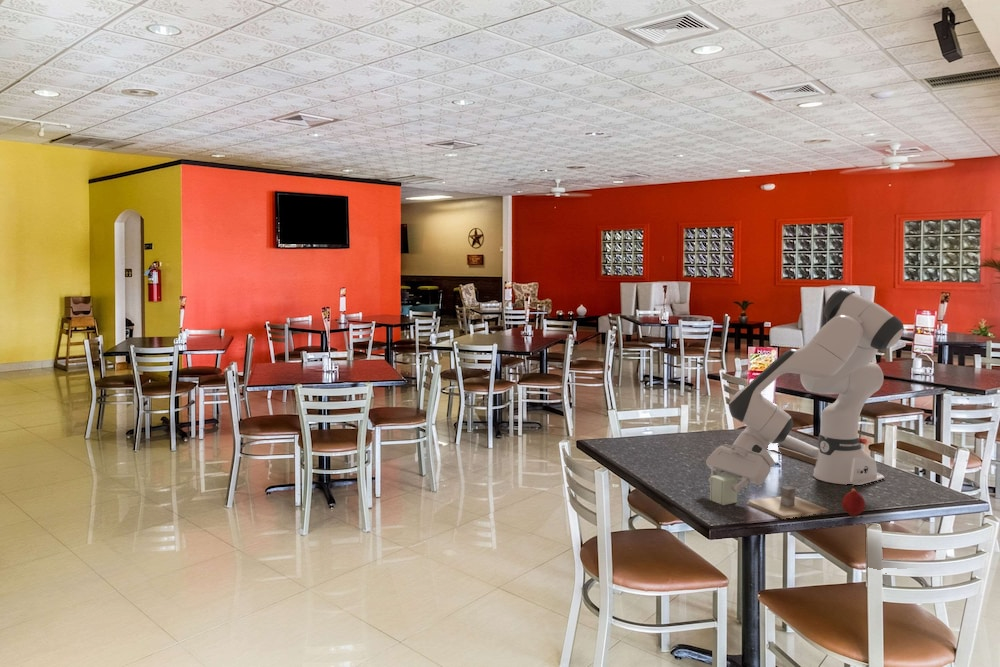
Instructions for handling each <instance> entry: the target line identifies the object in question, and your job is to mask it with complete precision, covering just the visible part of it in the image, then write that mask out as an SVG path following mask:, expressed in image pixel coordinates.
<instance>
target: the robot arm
mask: <svg viewBox="0 0 1000 667" xmlns="http://www.w3.org/2000/svg"><path fill="white" fill-rule="evenodd" d="M824 304H825V305H824V307H823V314H824V317H825V318H826V319H825V322H826V323H825V324H823V326H821V328H820V329H819V330H818V331H817V333H815V335H814V336H813V337H812V338H811V340H809V342H807V344H806V345H803V346H802V347H799V348H797V349H795V348H790V349H788V350H786V351H785V352H783V353H782V354H780V356H778V357H777V358H776V359H775V360H773V361H772V362H771V363H770V364H769V365H767V367H766V368H765V369H764V370H763V371H761V372H760V373H759V374H758V375H757V376H756V377H755V378H754V379H753V380H751V382H749V383H748V384H747V385H746V386H744V387H743V388H741V389H740V390H738V391H737V392H736V393H735V394H734V395H733V396H732V397H731V399H730V400H729V403H728V409H729V413H730V416H731V417H732V418H734V419H736V420H737V421H738V422H741V423H743V424H744V425H746V427H745V428H744V429H743V430H742V432H740V434H739V435H738V437H737V438H736V439H735V440H734V442H733V443H732V445H731V444H730V445H729V444H727V443H724V444H721V445H719V446H717V447H716V448H715V449H714V450H713V451H712V452H711V454H710V455H709V456H708V457H707V458H706V461H705V463H706V466H707V467H708V468H709V469H710V476H709V478H708V482H709V483H710V477H711V476H715V475H720V474H726V475H729V476H732V477H735V478H738V480H740V481H739V482H737V484H734V485H733V487H732V490H733V491H735V492H737V494H738V493H739V492H740V491H741V490H742V489H744V488H745V487H747V486H749V484H753V485H756V486H760V485H762V484H763V483H765V480H766V479H767V478H768V476H769V474H770V472H771V468H772V467H774V465H775V463H776V461H774V458H773V457H772V456H771V455H770V453H769V452H768V451H767V450H768V449H767V448H768V445H769V444H773V445H774V444H776V443H781V442H783V441H784V440H785V438H786V437H787V435H789V434H790V432H791V430H793V428H794V420H793V416H791V415H790V414H789V413H787V412H786V411H785V410H784V409H783V407H781V406H780V405H778V404H777V403H773V402H771V401H770V400H769V399H767V398H766V397H764V396H763V394H762V392H763V391H764V390H765V389H767V388H768V386H770V385H771V384H772V383H773V382H774V381H775V380H777V379H778V378H779V377H780V376H781V375H784V374H796V375H799V377H800V383H801V385H802V387H803V388H804V389H805V391H807V392H810V393H813V394H814V393H815V394H819V395H838V396H837V398H836V400H835V401H834V402H832V403H831V404H829V405H827V406H825V407H824V409H823V410H822V412H821V413H820V415H821V416H820V432H819V434H818V442H817V445H818V448H819V449H818V454H817V460H816V464H815V467H814V468H813V474H812V476H813V477H814V478H815V479H817V480H820V481H822V482H825V483H831V484H836V485H837V484H838V485H847V484H854V485H860V484H864V483H868V482H871V481H875V480H879V479H882V478H885V476H884V475H883V474H881V473H879V472H878V471H877V470H878V469H877V462H876V460H875V459H874V458H873V457H872V456H871V455H870V454H868V452H866V451H865V450H864V449H862V445H867V443H868V442H869V441H868V439H867V438H865V437H862V436H861V437H858V433H859V421H860V415H861V412H862V409H863V408H864V406H865V404H866V403H867V401H868V400H869V398H870V397H871V396H872V395H874V394H875V393H876V392H878V391H879V390H880V389H881V387H882V386H883V384H884V381H885V380H884V372H883V370H882V367H880V365H879V364H878V363H876V362H874V361H873V360H874V358H875V357H876V355H877V353H878V351H887V350H889V349H890V348H893V346H895V345H896V344H897V343H898V342H899V341H900V340H901V337H902V335H903V333H904V331H905V330H904V329H905V328H904V327H905V326H904V322H902V321H901V319H900V318H899V317H898V316H896V315H893V314H892V313H890V312H889V311H888V310H887V309H886V308H884V307H883V306H881V305H880V304H877V303H876V302H873V301H872V300H871V299H868V298H867V297H864V296H862V295H859V294H857V293H856V292H855V291H854V290H851V289H848V288H846V287H843V288H840V289H837V290H836V291H835V292H833V293H832V294H831V295H830V296H829V297H828V299H826V302H825V303H824ZM872 361H873V362H872ZM854 485H853V486H854Z"/></svg>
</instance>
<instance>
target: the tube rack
mask: <svg viewBox="0 0 1000 667" xmlns="http://www.w3.org/2000/svg"><path fill="white" fill-rule="evenodd" d="M779 450H780V452H781V453H780V454H782V455H785V456H788V457H791V458H793V459H794V458H795V459H797V460H800V461H803V462H805V463H810V464H813V465H816V460H817V458H814V457H811V456H808V455H804V454H801V453H798V452H795V451H792V450H790V449H788V448H785V447H783V446H779Z"/></svg>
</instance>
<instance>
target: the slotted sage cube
mask: <svg viewBox="0 0 1000 667" xmlns="http://www.w3.org/2000/svg"><path fill="white" fill-rule="evenodd" d="M710 476H711V475H710ZM710 476H709V478H710V482H709V483H710V484H709V500H710V501H712V502H714V503H716V504H719V505H722V506H726V505H730V504H736V503H738V493H737V492H735V491H733V490H732V487H733V485H734V484H738V480H739V479H738V478H735V477H732V476H729V475H726V474H722V473H719V474H718V475H715V476H711V477H710Z"/></svg>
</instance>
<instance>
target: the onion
mask: <svg viewBox="0 0 1000 667" xmlns="http://www.w3.org/2000/svg"><path fill="white" fill-rule="evenodd" d="M841 507H842V508H843V510H844V511H845V512H846V513H847V514H848V515H849V516H850V517H851V516H852V517H851V518H854V517H856V516H858V515H860V514H862V513H863V512H864V510H865V508H866V501H865V499H864V497H863V495H861V494H860V493H859V492H858V491H857V490H856V489H855V488H851V489H850V491H849V492H847V493H846V494H845V495H844V496H843V497H842V500H841Z"/></svg>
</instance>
